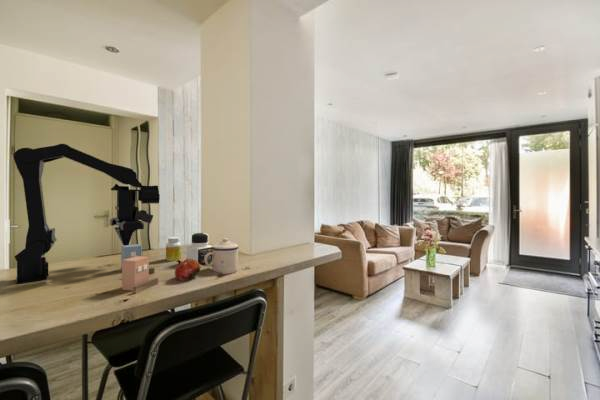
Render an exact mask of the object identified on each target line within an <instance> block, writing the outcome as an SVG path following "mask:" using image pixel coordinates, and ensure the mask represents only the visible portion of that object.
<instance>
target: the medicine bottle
mask: <svg viewBox="0 0 600 400" xmlns="http://www.w3.org/2000/svg"><path fill="white" fill-rule="evenodd" d="M212 246H213V245H211V244H209V234H208V233H206V232H195V233H193V234H192V235H191V245H188V246H186V249H185V250H186V254H185V255H186V259H194V260H196V261H197V262H198V263H199V264H200V265H201V267H206V266H207V265H206V264H205V261H204V257H205V255H206V254H207V253H209V252H213V249H212ZM212 257H213V254H211V255H209V256H208V257H207V262H208V264H212ZM186 259H185V260H186ZM207 267H208V266H207Z"/></svg>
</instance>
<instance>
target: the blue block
mask: <svg viewBox="0 0 600 400" xmlns="http://www.w3.org/2000/svg"><path fill="white" fill-rule="evenodd" d="M135 256H142V245H140V244H138V243H136V244H129V245H124V246H123V245H121V251H120V264H121V265H120V270H121V271H122V260H124V259H128V258H132V257H135Z"/></svg>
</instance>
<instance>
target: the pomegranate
mask: <svg viewBox="0 0 600 400" xmlns="http://www.w3.org/2000/svg"><path fill="white" fill-rule="evenodd" d="M175 263H178V266H177V267H176V268H175V269H174V276H175V279H176V281H180V282H185V281H188V280H189V279H192V278H193V279H194V280H196V279H197V278H195V276H196V275H197V274H199V272H200V270H201V269H202V265H200V264H199V263H198V262H197V261H196V260H194V259H184V260H183V261H181V260H177V261H175Z"/></svg>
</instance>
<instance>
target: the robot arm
mask: <svg viewBox="0 0 600 400" xmlns="http://www.w3.org/2000/svg"><path fill="white" fill-rule="evenodd" d="M64 158H65V159H67V160H71V161H73V162H75V163H78V164H81V165H83V166H86V167H88V168H90V169H93V170H95V171H97V172H101V173H102V174H105V175H106V176H108V177H110V178H112V179H114V180H115V181H117V182H118V183H120V184H122V185H119V184H117V183H115V184H114V186H113V187H111V188H110V190H111V191H116V206H114V209H115V210H116V217H112V218H110V220H109V226H111V227H112V226H115V227H114V228H113V229H114V230H115V232H116V234H117V236H118V239H119V240H120V242H121V244H122V246H124V245H130V241H131V239H132V236H133V233H135V232H136V231H137V230H144V229H145V223H148V224H151V223H152V222H153V218H154V215H153V214H150V213H147V210H144V209H140V210H139V207H138V206H137V205H136V203H137V201H138V202H140V203H141V204H143V205H145V204H148V205H149V204H151V205H153V204H156V205H157V204H159V203H160V191H159V185H142V182H140V181H139V179H138V178H137V173H136V171H135V170H134V169H132V168H130V167H126V166H123V165H118V164H114V163H110V162H107V161H106V160H105V161H104V160H103V159H99V158H97V157H95V156H93V155H90V154H88V153H86V152H84V151H81V150H78V149H76V148H73V147H71V146H69V145H68V144H66V143H58V144H57V145H56V144H55V145H50V146H42V147H37V148H31V147H22V148H18V149H17V150H16V151H14V153H13V161H14V163H15V165H16V169H17V171H18V172H19V174H20V177H21V179H22V181H23V182H22V183H23V192H24V199H25V200H24V201H25V206H26V213H27V222H28V228H27V233H26V238H25V247H24V249H22V250H20V252H19V253H17V254H16V255H14V259H15V261H16V277H15V282H16V284H22V283H30V282H36V281H42V280H47V277H48V276H49V262H48V261H47V259H46V258H47V257H46V256H45V254H47V253H48V252H49V251H51V249H52V248H53V247H54V245H55V243H56V242H57V241H58V239H57V238H56V228H55V227H54V228H53V227H52V228H50V227H49V225H48V222H47V215H46V208H45V207H46V206H45V201H44V191H43V185H42V184H43V183H42V176H43V173H44V168H45V167H44V166H45V163H50V162H54V161H56V160H60V159H64ZM129 185H130V186H131V187H132V189H130V187H129ZM133 188H139V189H133ZM144 222H145V223H144Z"/></svg>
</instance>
